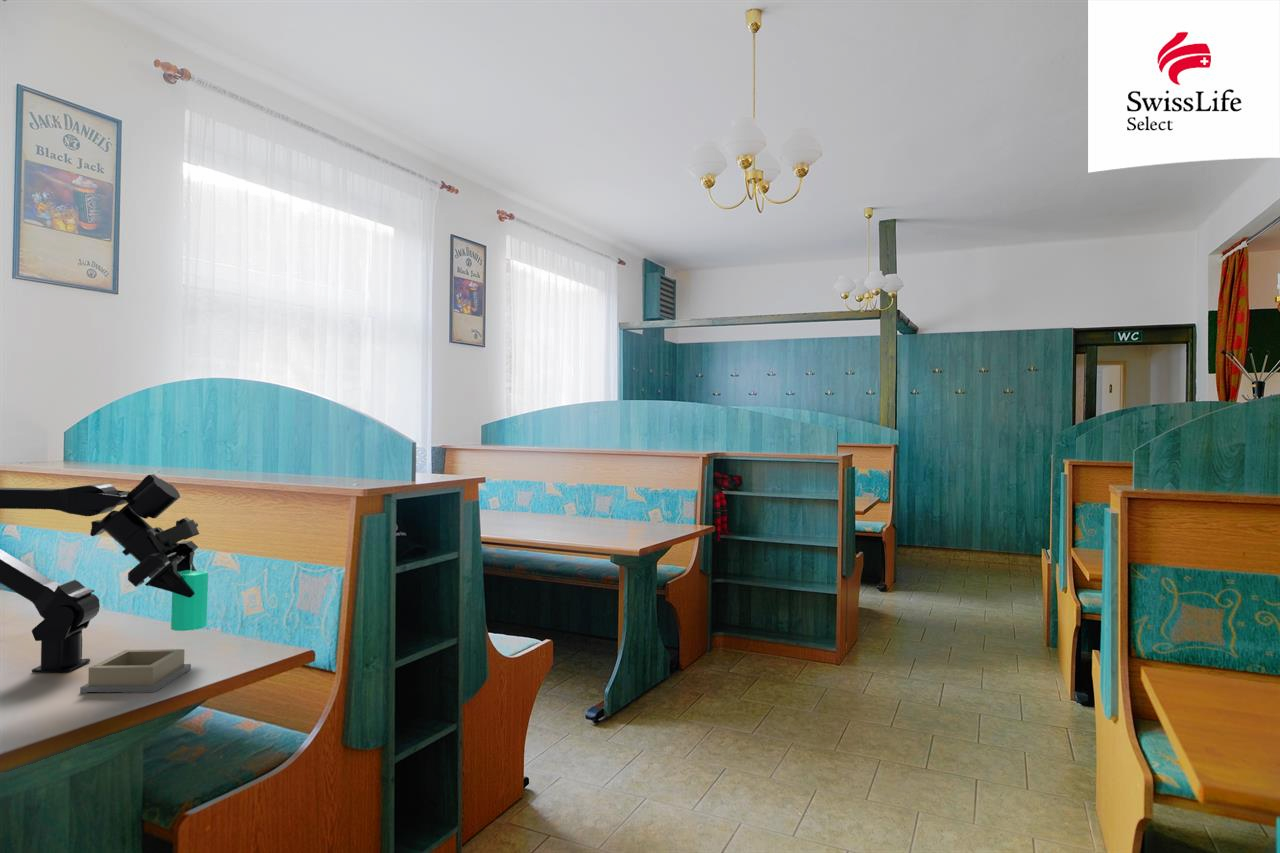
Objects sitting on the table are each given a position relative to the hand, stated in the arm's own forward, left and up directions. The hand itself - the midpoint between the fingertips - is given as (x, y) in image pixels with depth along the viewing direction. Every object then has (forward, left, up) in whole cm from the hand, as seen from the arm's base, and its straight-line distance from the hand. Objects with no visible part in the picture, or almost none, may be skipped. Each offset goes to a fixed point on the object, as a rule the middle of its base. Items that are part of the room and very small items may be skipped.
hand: (197, 592), depth 143 cm
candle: (0, +1, -7) cm, 7 cm away
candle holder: (-11, +5, -13) cm, 18 cm away
